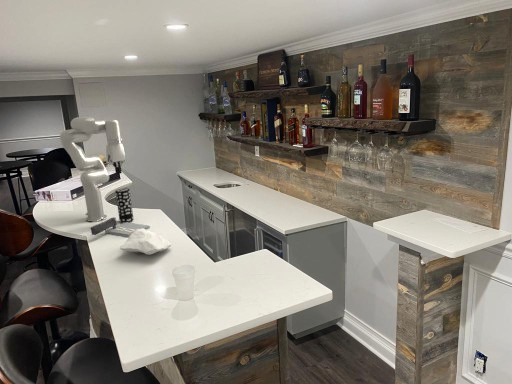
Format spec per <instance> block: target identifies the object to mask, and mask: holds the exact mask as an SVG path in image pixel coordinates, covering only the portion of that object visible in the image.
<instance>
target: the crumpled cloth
mask: <svg viewBox="0 0 512 384" xmlns="http://www.w3.org/2000/svg"><path fill="white" fill-rule="evenodd" d="M157 234H158V233H156V232H154V231H150V230H148V229H147V230H145V229H143V228H142V229H136V230H135V231H134V232H133V233H132V234H131V235H130V236H129V237H127V240H126V241H125V242H124V244H122V245H121V246H120V248H119V249H120V250H121V251H124V252H130V253H131V252H132V253H133V252H134V253H135V252H137V253H144V254H145V255H153V254H156V253H158V252H162V251H164V250H167V248H171V246H172V243H171V242H170V241H168V240H167V239H166V238H164V237H163V236H162V235H157Z"/></svg>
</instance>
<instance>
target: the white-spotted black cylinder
mask: <svg viewBox="0 0 512 384" xmlns="http://www.w3.org/2000/svg"><path fill="white" fill-rule="evenodd" d="M115 198H116V203H117V211H118V212H117V213H118V217H119V218H118V219H119V223H120V222H121V223H120V224H123V223H126V222H129V223H133V222H134V221H133V220H134V219H135V218H134V213H133V206H132V198H131V190H130V188H120V189H119V188H118V189H116V190H115Z"/></svg>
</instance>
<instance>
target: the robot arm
mask: <svg viewBox="0 0 512 384" xmlns="http://www.w3.org/2000/svg"><path fill="white" fill-rule="evenodd" d="M70 126H71V128H72V129H66V130H63V131H62V132H61V133H60V135H59V139H60V140H59V141H60V143H61V145H62V147H63V149H64V150H65V151H66V152H67V154H68V155H69V157H70V159H71V161H72V162H73V165H74V166H75V167H76V170H78V171H79V172H82V173H81V174H80V177H79V179H80V183H81V185H82V189H83V194H84V199H85V206H86V213H85V216H87V217H86V218H85V220H88V221H96V222H98V221H97V220H101V219H104V218H106V217H107V218H108V216H107V214H105V212H104V206H103V205H104V204H103V199H102V192H101V190H100V188H99V187H98V186H97V185H102V184H105V183H108V182H109V180H110V174H109V171H108V169H107V168H106V166H105V163H104V162H103V160H102V159H101V157H100V156H99V155H97V154H89V155H88V154H86V153H85V151H84V149H83V148H82V147H81V146H80V145H78V144H76V143H84V142H88V141H90V139H91V138H92V136H93V135H99V134H106V141H107V144H106V149H105V150H106V151H105V155H106V161H107V162H108V165H112V166H113V167H114V170H115V171H114V172H115V174H117V175H120V174H122V173H123V172H122V165H123V163H126V153H125V147H124V145H123V143H122V141H123V138H122V137H121V129H120V122H119V120H118V119H97V120H96V119H95V118H94V117H92V116H79V117H78V116H77V117H74V118H73V119H72V120H71V121H70ZM107 218H106V219H107ZM104 220H105V219H104ZM88 221H87V222H88ZM101 221H102V220H101Z"/></svg>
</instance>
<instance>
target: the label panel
mask: <svg viewBox="0 0 512 384" xmlns="http://www.w3.org/2000/svg"><path fill="white" fill-rule="evenodd" d="M150 227H151V226H150V225H149V224H140V223H134V222H126V223H120V224H117V225H115V226H113V227H111V228H109V229H107V230H105V231H104V233H105V234H108V233H109V234H111V235H114V236H115V235H116V236H121V237H126V238H129V236H130V235H131V234H132V233H133V232H134V231H135V230H136V229H142V228H143V229H145V230H148V229H151V228H150ZM109 234H108V235H109Z"/></svg>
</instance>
